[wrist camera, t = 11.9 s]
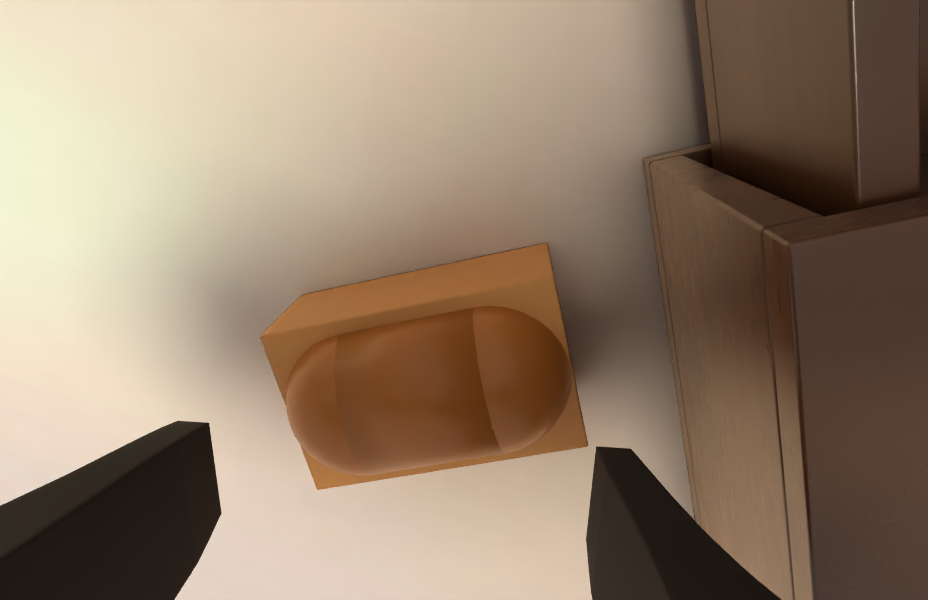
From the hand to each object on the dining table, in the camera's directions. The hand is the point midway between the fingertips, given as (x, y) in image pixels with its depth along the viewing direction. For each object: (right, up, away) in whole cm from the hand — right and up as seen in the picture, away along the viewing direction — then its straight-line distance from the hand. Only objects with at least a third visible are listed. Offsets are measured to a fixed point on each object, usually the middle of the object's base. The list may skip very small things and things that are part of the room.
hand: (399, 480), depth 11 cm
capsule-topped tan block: (0, +2, +6) cm, 6 cm away
